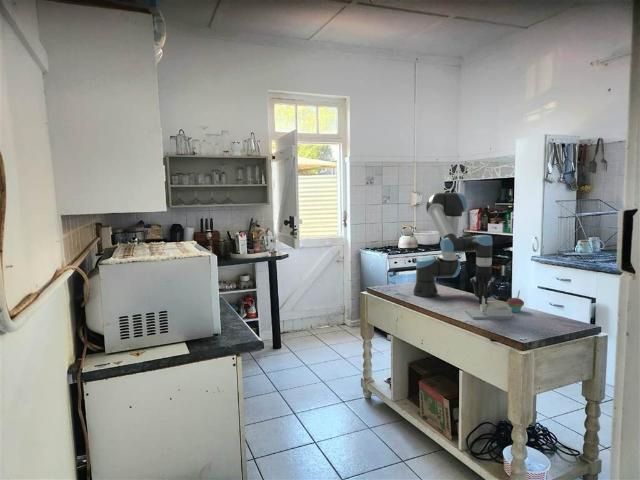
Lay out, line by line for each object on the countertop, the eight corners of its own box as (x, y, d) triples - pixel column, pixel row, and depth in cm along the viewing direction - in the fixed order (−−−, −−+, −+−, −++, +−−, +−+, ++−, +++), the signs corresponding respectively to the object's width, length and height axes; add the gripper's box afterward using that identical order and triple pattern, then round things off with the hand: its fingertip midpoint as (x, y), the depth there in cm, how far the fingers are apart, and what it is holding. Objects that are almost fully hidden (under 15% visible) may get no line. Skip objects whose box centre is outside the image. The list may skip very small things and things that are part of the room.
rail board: (464, 311, 223) (465, 302, 223) (503, 311, 222) (503, 302, 222) (472, 319, 209) (473, 309, 209) (513, 319, 208) (514, 309, 208)
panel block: (485, 312, 218) (485, 301, 217) (502, 312, 217) (503, 301, 216) (488, 314, 213) (488, 303, 212) (506, 314, 212) (506, 303, 212)
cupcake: (524, 310, 225) (525, 288, 224) (523, 313, 218) (523, 291, 217) (507, 308, 230) (507, 286, 228) (505, 311, 222) (505, 289, 221)
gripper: (473, 266, 210) (472, 312, 212) (499, 266, 209) (498, 312, 211) (468, 264, 217) (467, 308, 219) (494, 264, 217) (492, 308, 219)
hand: (482, 310), depth 215 cm, fingers closed
